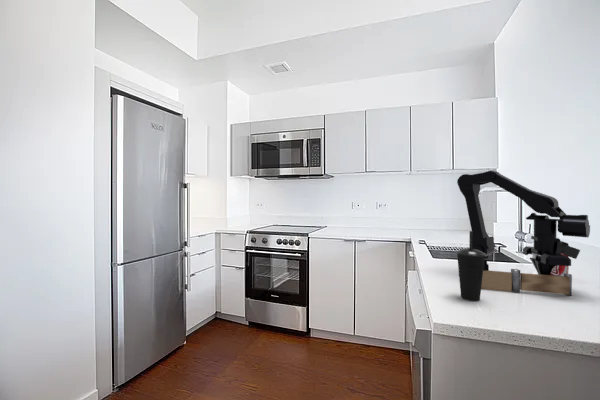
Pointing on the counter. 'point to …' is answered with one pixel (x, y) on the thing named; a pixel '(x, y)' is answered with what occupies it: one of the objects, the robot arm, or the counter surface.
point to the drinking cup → (470, 271)
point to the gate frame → (507, 281)
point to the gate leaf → (545, 283)
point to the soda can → (559, 270)
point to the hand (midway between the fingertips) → (544, 281)
